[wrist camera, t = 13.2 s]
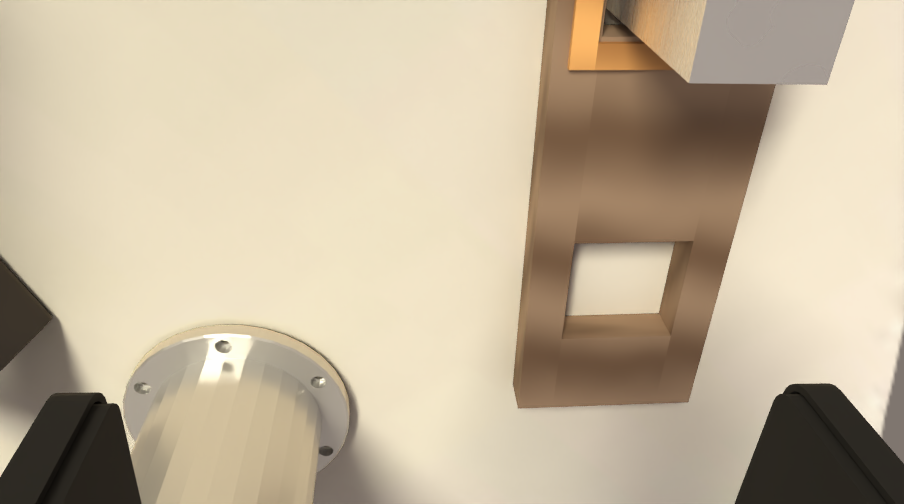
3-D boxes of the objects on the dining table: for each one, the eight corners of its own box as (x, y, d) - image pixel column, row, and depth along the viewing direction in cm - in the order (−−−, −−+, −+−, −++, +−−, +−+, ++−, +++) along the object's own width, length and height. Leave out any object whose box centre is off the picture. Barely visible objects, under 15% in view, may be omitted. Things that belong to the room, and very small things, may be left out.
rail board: (676, 378, 42) (690, 405, 40) (512, 384, 41) (518, 412, 39) (846, -287, 25) (884, -295, 23) (573, -296, 24) (589, -306, 22)
